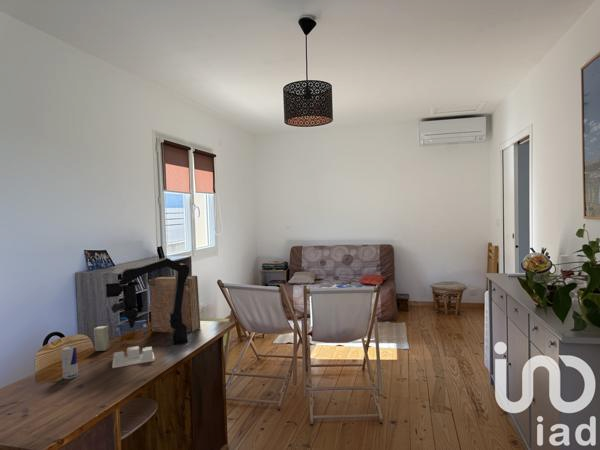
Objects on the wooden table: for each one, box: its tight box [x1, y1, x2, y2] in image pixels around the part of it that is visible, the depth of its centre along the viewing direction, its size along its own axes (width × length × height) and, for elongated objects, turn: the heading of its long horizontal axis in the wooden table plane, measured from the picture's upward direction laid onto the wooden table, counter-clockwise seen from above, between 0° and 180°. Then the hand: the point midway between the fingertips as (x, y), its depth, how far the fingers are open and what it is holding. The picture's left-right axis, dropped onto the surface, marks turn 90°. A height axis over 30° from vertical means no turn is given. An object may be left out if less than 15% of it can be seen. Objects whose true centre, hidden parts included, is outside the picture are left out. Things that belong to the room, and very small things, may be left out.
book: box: [148, 275, 201, 334], centre depth 229 cm, size 25×9×30 cm, turn 74°
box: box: [93, 325, 111, 352], centre depth 202 cm, size 5×4×11 cm
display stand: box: [111, 345, 155, 369], centre depth 183 cm, size 10×17×5 cm, turn 113°
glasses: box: [115, 319, 148, 337], centre depth 193 cm, size 10×13×4 cm
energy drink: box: [60, 345, 79, 380], centre depth 168 cm, size 5×5×12 cm
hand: (131, 327), depth 196 cm, fingers closed on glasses, 2 cm apart
